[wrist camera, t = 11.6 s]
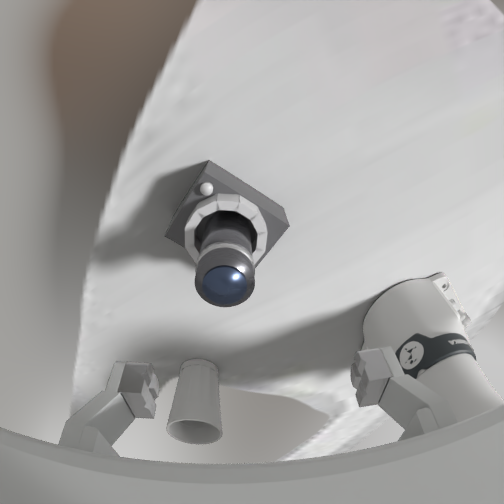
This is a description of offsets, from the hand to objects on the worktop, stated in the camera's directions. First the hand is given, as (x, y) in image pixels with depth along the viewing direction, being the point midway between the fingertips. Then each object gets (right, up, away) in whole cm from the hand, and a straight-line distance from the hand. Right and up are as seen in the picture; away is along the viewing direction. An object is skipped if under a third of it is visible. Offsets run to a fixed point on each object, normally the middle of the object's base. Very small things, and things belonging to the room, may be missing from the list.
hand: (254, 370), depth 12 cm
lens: (-3, +7, +20) cm, 22 cm away
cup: (-9, -15, +38) cm, 42 cm away
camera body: (-3, +9, +25) cm, 27 cm away
